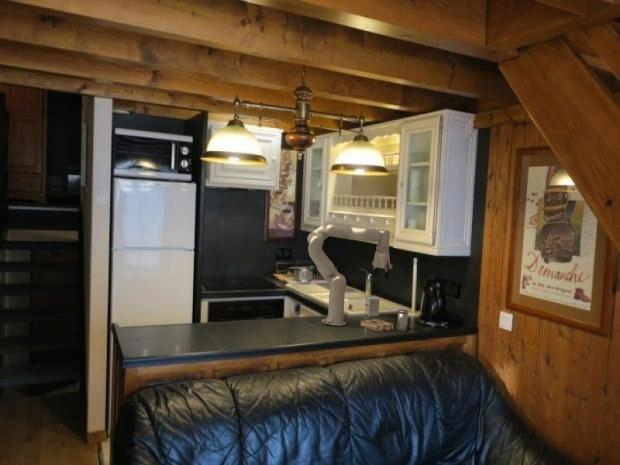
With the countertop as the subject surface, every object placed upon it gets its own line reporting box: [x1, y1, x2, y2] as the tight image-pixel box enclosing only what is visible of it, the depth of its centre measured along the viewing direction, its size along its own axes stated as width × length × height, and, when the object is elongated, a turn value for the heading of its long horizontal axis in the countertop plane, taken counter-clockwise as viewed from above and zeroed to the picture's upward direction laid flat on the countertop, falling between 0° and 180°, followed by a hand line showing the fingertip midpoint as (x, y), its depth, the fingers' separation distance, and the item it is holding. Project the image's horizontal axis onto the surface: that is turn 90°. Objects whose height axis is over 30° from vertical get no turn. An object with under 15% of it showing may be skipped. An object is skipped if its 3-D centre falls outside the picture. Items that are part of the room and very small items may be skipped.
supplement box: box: [364, 296, 380, 317], centre depth 333 cm, size 7×7×13 cm
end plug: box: [396, 308, 409, 332], centre depth 300 cm, size 7×7×12 cm
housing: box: [360, 318, 394, 332], centre depth 300 cm, size 14×14×4 cm
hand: (381, 276), depth 308 cm, fingers open, 9 cm apart
